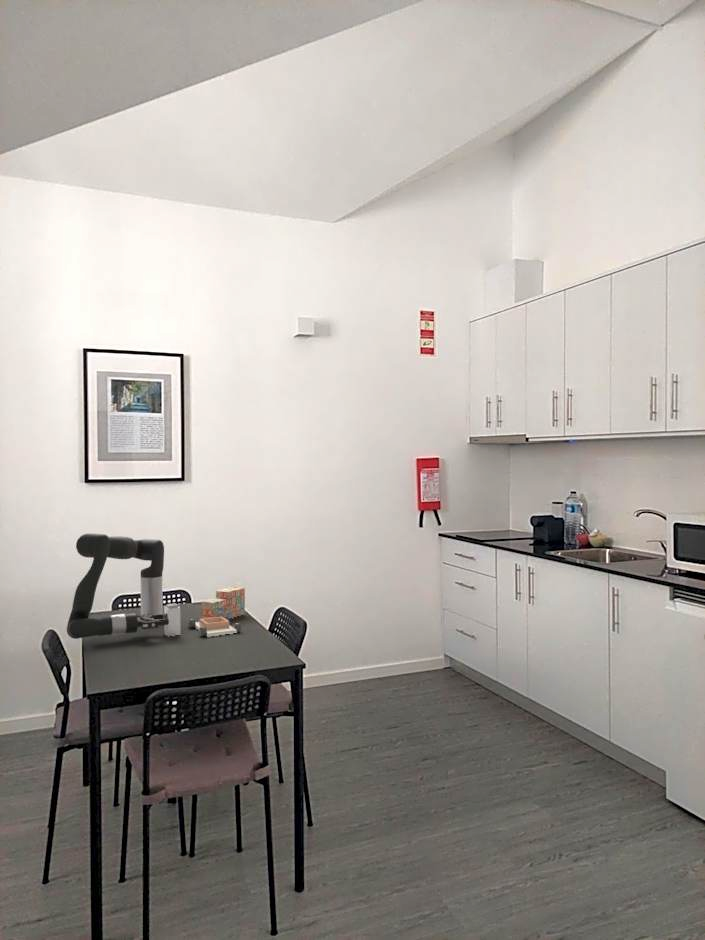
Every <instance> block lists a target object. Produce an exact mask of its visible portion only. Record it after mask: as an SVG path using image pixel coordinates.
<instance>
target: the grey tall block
mask: <svg viewBox="0 0 705 940" xmlns="http://www.w3.org/2000/svg"><path fill="white" fill-rule="evenodd" d="M163 611H164V612H163V619H169V624H168V625H163V626H164V629H163V630H164V632H163V633H164V635H165V636H166V637H167V636H168V637H167V638H170V637H169V636H173V637H176V636H175V635H180V636H181V607H180V605H179V604H177V603H167V604H166V606H165V605H164V607H163Z"/></svg>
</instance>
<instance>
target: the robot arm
mask: <svg viewBox="0 0 705 940" xmlns="http://www.w3.org/2000/svg"><path fill="white" fill-rule="evenodd" d="M75 548H76V551H77V553H78V555H79V556H80V557H81V556H82V557H84V558H88V559H89V558H91V559H92V558H93V560H92V562H91V566H90V567H89V569H88V571H87V572H86V574H85V575H84V577H83V578H82V579H81V580H80V582H79V583H78V585H77V586H76V589H75V591H74V595H73V596H74V597H73V602H72V609H71V612H70V615H69V618H68V622H67V625H66V633H67V635H68V637H70V638H71V639H74V640H77V639H82V638H88V637H96V636H98V637H99V636H100V637H101V636H103V637H104V636H111V635H117V636H118V635H125V634H126V635H127V634H134V633H137V632H138V628H142V630H147V629H157V628H159V627H160V626H164V625H168V624H169V619H164V613H163V573H164V572H163V571H164V564H165V563H164V561H165V560H164V559H165V546H164V542H163V541H162V540H160V539H146V538H145V539H138V540H136V539H134V538H131V537H129V536H120V535H119V536H118V535H117V536H108V535H107V534H104V533H90V532H89V533H84V534H82V535H80V536H79V538H77V540H76V543H75ZM108 558H109V559H115V560H130V559H132V558H133V559H137V560H141V561H148V562H149V561H150V565H149V566H148V567H145V568H142V569H141V570H140V614H137V613H136V612H128V613H118V614H113V615H105V616H104V615H103V616H99V617H89V616H90V613H91V611H92V608H93V604H94V599H95V595H96V590H97V587H98V583H99V580H100V578H101V575H102V574H103V570H104V567H105V564H106V561H107V559H108Z"/></svg>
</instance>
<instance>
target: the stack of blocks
mask: <svg viewBox="0 0 705 940" xmlns="http://www.w3.org/2000/svg"><path fill="white" fill-rule="evenodd" d="M245 591H246V590H245V587H239V586H231V587H225V588H221V589H218V590H215V597H213V598H209V599H206V600H202V602H201V619H203V618H212V617H221V616H224V615H227V616H228V619H229V620H231V619H230V618H232V619H235V618H234V617H236V618H238V617H237V616H239V617H242V616H241V615H243V616H245V615H246V614H245V613H246V612H245V611H246V609H245V607H246V606H245V601H246V593H245Z"/></svg>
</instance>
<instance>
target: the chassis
mask: <svg viewBox="0 0 705 940" xmlns="http://www.w3.org/2000/svg"><path fill="white" fill-rule="evenodd" d="M187 624H188V625H187V626H188V628H189V627H190V628H189V629H193V628H194V627H195V628H194V629H196V630H197V629H198V630H199V631H198V630H197V631H198V632H199V633H198V634H199V637H206V636H207V637H206V638H213V637H212V636H214V637H220V636H219V635H222V636H226V635H225V634H230V635H234V634H233V633H237V634H238V633H240V632H241V631H242V624H241V623H240V622H235V623H233V625H232V626H231V625H230V619H228V616H227V615H224V616H221V617H212V618H203V619H202V618H199V619H198V622H197V621H196V619H195V618H191V619H188V623H187Z"/></svg>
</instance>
